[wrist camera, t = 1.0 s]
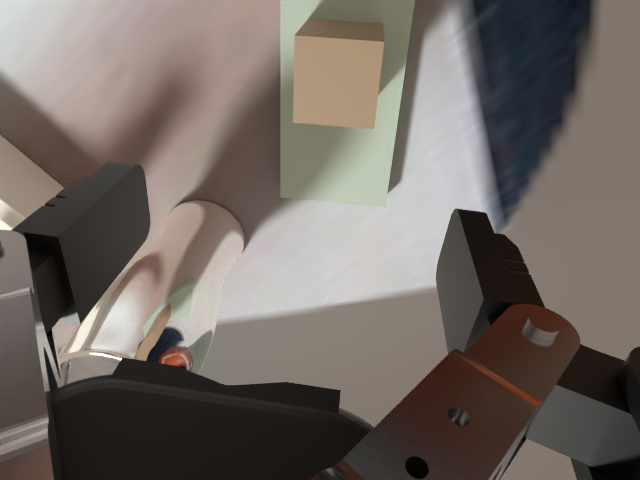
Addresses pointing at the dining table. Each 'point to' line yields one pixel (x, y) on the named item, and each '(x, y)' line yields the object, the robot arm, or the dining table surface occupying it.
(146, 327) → the beer glass
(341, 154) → the shelf board
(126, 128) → the dining table surface
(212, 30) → the dining table surface
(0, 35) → the dining table surface
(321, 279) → the dining table surface
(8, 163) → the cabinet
